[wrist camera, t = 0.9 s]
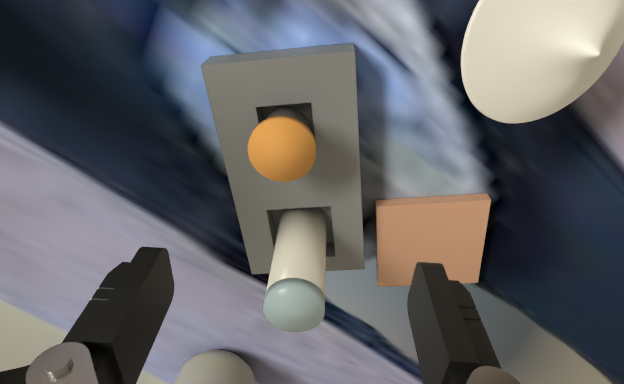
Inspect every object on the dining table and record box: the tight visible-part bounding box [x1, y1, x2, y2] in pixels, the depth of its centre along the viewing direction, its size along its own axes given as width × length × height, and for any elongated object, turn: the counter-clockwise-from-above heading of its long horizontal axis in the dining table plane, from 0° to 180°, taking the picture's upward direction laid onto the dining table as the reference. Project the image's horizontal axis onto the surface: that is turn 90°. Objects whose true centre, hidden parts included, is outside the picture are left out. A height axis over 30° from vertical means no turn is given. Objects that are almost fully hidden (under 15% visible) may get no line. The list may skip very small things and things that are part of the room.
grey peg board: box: [201, 43, 365, 274], centre depth 37 cm, size 12×22×3 cm, turn 6°
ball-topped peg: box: [263, 207, 326, 332], centre depth 36 cm, size 5×5×12 cm
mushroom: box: [461, 0, 624, 123], centre depth 26 cm, size 10×11×12 cm
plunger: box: [248, 107, 316, 182], centre depth 32 cm, size 5×5×4 cm
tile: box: [375, 193, 491, 287], centre depth 42 cm, size 11×11×1 cm
